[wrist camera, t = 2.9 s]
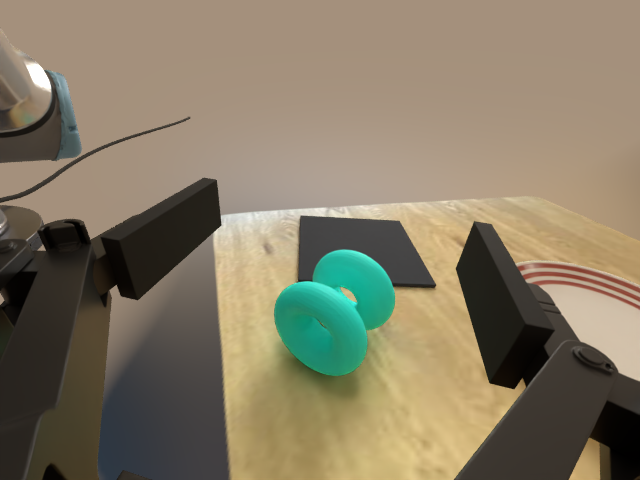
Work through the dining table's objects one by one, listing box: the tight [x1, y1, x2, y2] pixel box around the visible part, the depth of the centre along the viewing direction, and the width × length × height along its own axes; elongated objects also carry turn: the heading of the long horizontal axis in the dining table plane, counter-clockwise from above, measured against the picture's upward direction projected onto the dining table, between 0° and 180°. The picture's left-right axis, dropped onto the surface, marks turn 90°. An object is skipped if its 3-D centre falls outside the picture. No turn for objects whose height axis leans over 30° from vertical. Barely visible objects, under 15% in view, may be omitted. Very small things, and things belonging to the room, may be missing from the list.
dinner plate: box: [515, 260, 640, 381], centre depth 36 cm, size 28×27×3 cm
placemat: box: [298, 216, 436, 288], centre depth 51 cm, size 20×20×1 cm
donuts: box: [274, 250, 395, 376], centre depth 31 cm, size 10×10×10 cm
